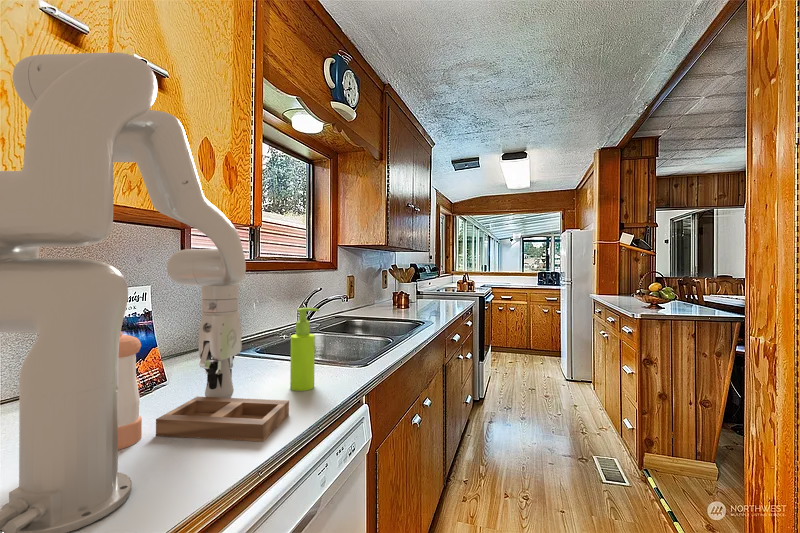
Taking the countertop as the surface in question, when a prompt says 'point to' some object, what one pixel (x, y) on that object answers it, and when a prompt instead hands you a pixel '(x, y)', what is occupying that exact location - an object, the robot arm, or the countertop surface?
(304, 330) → the soap dispenser
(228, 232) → the robot arm
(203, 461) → the countertop surface
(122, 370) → the pepper shaker
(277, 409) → the caddy
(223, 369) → the salt shaker
